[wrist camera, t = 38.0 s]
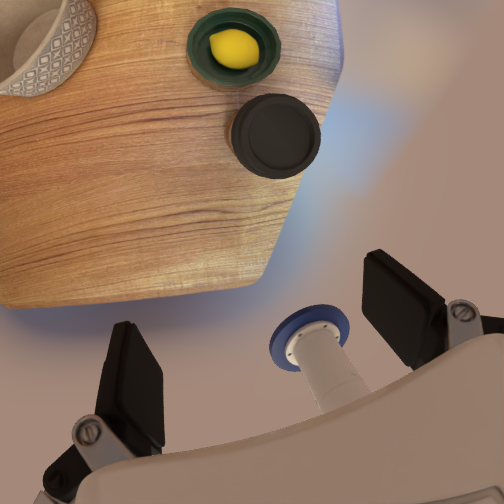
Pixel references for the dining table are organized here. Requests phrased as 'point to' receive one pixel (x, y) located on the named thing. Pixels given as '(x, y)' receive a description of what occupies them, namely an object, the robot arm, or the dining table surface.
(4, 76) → the planter
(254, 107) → the coffee cup
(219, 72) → the bowl
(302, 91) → the dining table surface
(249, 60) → the lemon
